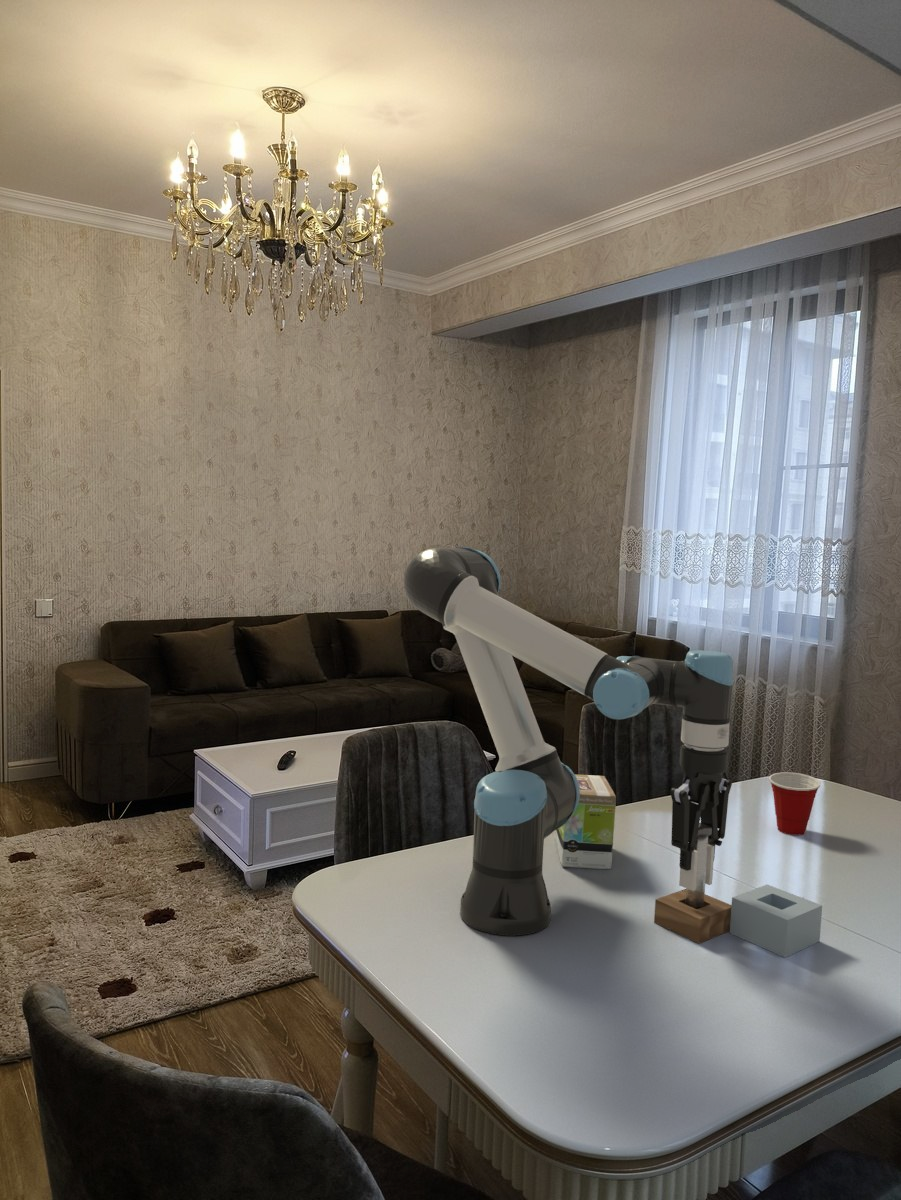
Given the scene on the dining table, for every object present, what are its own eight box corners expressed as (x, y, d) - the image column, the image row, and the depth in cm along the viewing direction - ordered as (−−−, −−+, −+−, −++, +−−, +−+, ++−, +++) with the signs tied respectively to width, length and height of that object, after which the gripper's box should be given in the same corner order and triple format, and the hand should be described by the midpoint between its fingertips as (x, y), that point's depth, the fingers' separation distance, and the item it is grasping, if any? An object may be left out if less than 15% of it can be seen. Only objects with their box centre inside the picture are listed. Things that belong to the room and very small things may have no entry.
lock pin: (695, 933, 145) (702, 832, 144) (675, 924, 148) (681, 824, 147) (710, 927, 147) (717, 827, 146) (690, 918, 151) (696, 820, 149)
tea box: (613, 870, 171) (617, 795, 170) (560, 868, 171) (564, 793, 170) (601, 843, 186) (605, 773, 185) (553, 840, 186) (556, 771, 185)
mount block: (698, 943, 141) (700, 919, 141) (654, 922, 149) (655, 899, 148) (732, 929, 147) (734, 906, 147) (687, 909, 154) (689, 887, 154)
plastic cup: (758, 831, 197) (762, 778, 196) (773, 820, 206) (776, 769, 205) (810, 843, 191) (814, 788, 190) (822, 830, 199) (826, 778, 198)
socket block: (785, 957, 138) (787, 920, 137) (729, 933, 146) (732, 897, 145) (819, 941, 144) (822, 905, 143) (764, 918, 152) (767, 884, 151)
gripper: (691, 757, 137) (682, 904, 139) (754, 744, 148) (745, 881, 149) (652, 747, 143) (644, 888, 145) (716, 735, 153) (707, 867, 155)
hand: (695, 884), depth 147 cm, fingers open, 4 cm apart
